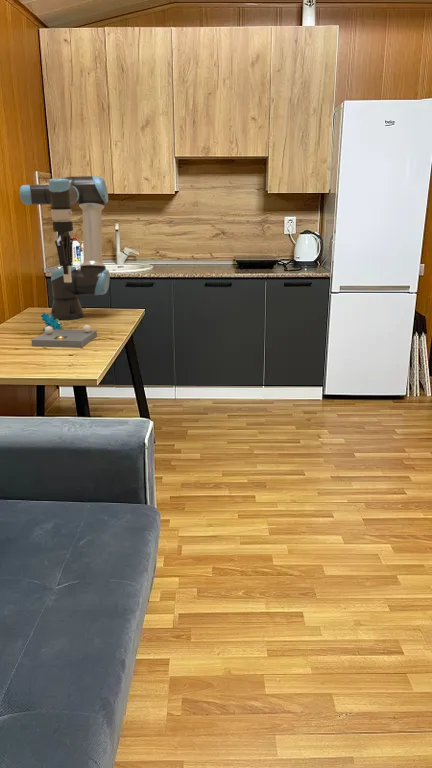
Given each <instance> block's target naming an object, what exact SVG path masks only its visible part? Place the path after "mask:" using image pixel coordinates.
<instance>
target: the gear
mask: <svg viewBox="0 0 432 768" xmlns="http://www.w3.org/2000/svg"><path fill="white" fill-rule="evenodd" d="M40 317H41V320H42V321H43V322H44V324H45V327H44V328H43V331H45V328H46V327H47V326H50V327H52V328H53V329H56V330H62V327H61V323H59V320H58V319H54V317H53V316H51V314H49V313H45V312H43V313H42V314H41V315H40Z"/></svg>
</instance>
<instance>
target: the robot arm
mask: <svg viewBox="0 0 432 768" xmlns="http://www.w3.org/2000/svg"><path fill="white" fill-rule="evenodd" d="M19 198H20V201H21V203H22V204H24V205H30V206H33V205H35V206H36V205H37V206H38V205H41V206H42V205H43V206H44V205H49V206H50V207H51V208H50V209H51V219H52V221H53V222H52V229H53V231H52V232H56V233H57V235H56V236H57V239H56V240H55V241H54V243H55V246H56V247H55V248H56V250H57V255H58V261H59V266H60V267H61V268H57V269H53V270H52V271H51V272H50V282H51V290H52V299H53V300H52V301H53V302H52V307H51V311H50V317H51V316H53V317H54V320H56V319H61V320H64V321H68V320H77V319H81V318H83V317H84V310H83V308H82V305H81V302H80V300H79V296H100V295H101V296H103V295H106V293H108V290H109V287H110V278H111V277H110V271H109V270H108V269H107V268H106V267H107V266H106V265H105V264H104V263H103V237H102V236H103V235H102V234H103V231H102V229H103V227H102V224H103V223H102V211H103V210H104V208H105V204H107V203H108V202H109V192H108V186H107V184H106V181H105V179H104V178H103V176H95V175H91V176H90V175H89V176H88V175H87V176H74V175H73V176H66V177H62V178H49V180H48V182H47V183H38V184H23V185H21V186H20V187H19ZM74 204H78V206H79V208H80V209H81V210H82V243H83V244H82V248H83V249H82V250H83V251H82V252H83V253H82V254H83V262H82V263H81V264H80V267H79V268H80V269H77V267H76V266H73V265H74V263H73V242H74V239H73V238H72V237H71V234H70V232H74V224H73V221H72V220H73V214H74V213H73V212H72V205H74ZM61 320H60V321H61Z"/></svg>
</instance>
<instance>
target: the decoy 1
mask: <svg viewBox="0 0 432 768" xmlns="http://www.w3.org/2000/svg"><path fill="white" fill-rule="evenodd" d="M46 326H47V325H46ZM46 326H45V327H46ZM45 327H44V328H45ZM44 332H46V333H47V334H51V333H52V332H53V327H50V326H47V327H46V328H45V330H44Z"/></svg>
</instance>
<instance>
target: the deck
mask: <svg viewBox="0 0 432 768" xmlns="http://www.w3.org/2000/svg"><path fill="white" fill-rule="evenodd" d="M59 336H63V337H64V338H65V339H57V337H59ZM96 337H98V331H97V330H95V329H91V331H90V332H88V333H86V332H84V330H83V329H60V330H56V329H53V332H52V333H51V334H47V333H46V332H45V331H44V332H43V333H41V334H39V335H38V336H36V337H34V338H32V339H30V340H31V341H30V342H31V347H50V348H51V347H53V348H54V347H55V348H83V347H84V346H87V344H88V343H90V342H92V341H93V340H94V339H96Z"/></svg>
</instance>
